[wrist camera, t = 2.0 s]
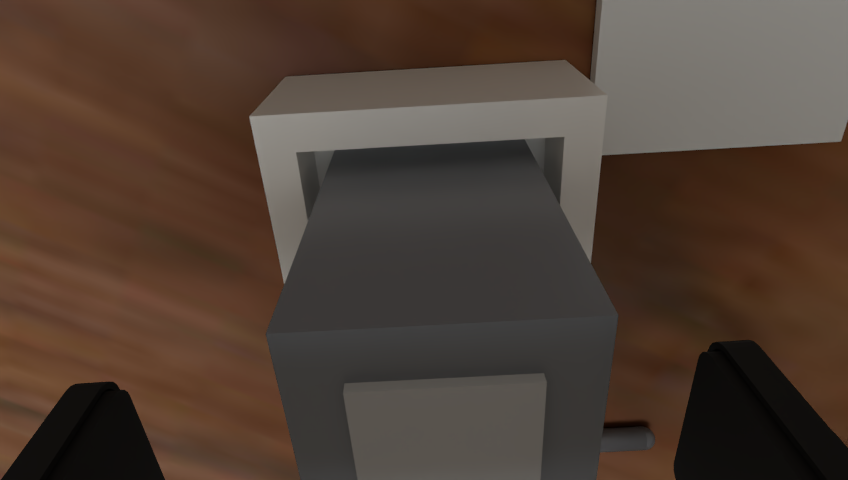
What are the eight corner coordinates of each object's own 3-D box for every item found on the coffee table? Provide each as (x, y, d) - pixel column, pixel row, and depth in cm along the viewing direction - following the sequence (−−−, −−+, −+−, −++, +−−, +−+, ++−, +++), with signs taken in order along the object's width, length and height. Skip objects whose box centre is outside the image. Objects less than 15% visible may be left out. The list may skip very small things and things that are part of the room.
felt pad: (920, -164, 14) (937, -167, 13) (830, 136, 17) (841, 141, 17) (608, -143, 14) (615, -145, 13) (583, 150, 17) (588, 155, 17)
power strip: (723, 50, 16) (917, 123, 10) (635, 507, 25) (704, 690, 19) (285, 76, 16) (205, 164, 10) (361, 520, 26) (344, 705, 19)
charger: (522, 136, 15) (622, 323, 8) (518, 292, 17) (591, 546, 10) (336, 146, 15) (262, 343, 8) (356, 300, 17) (315, 559, 10)
